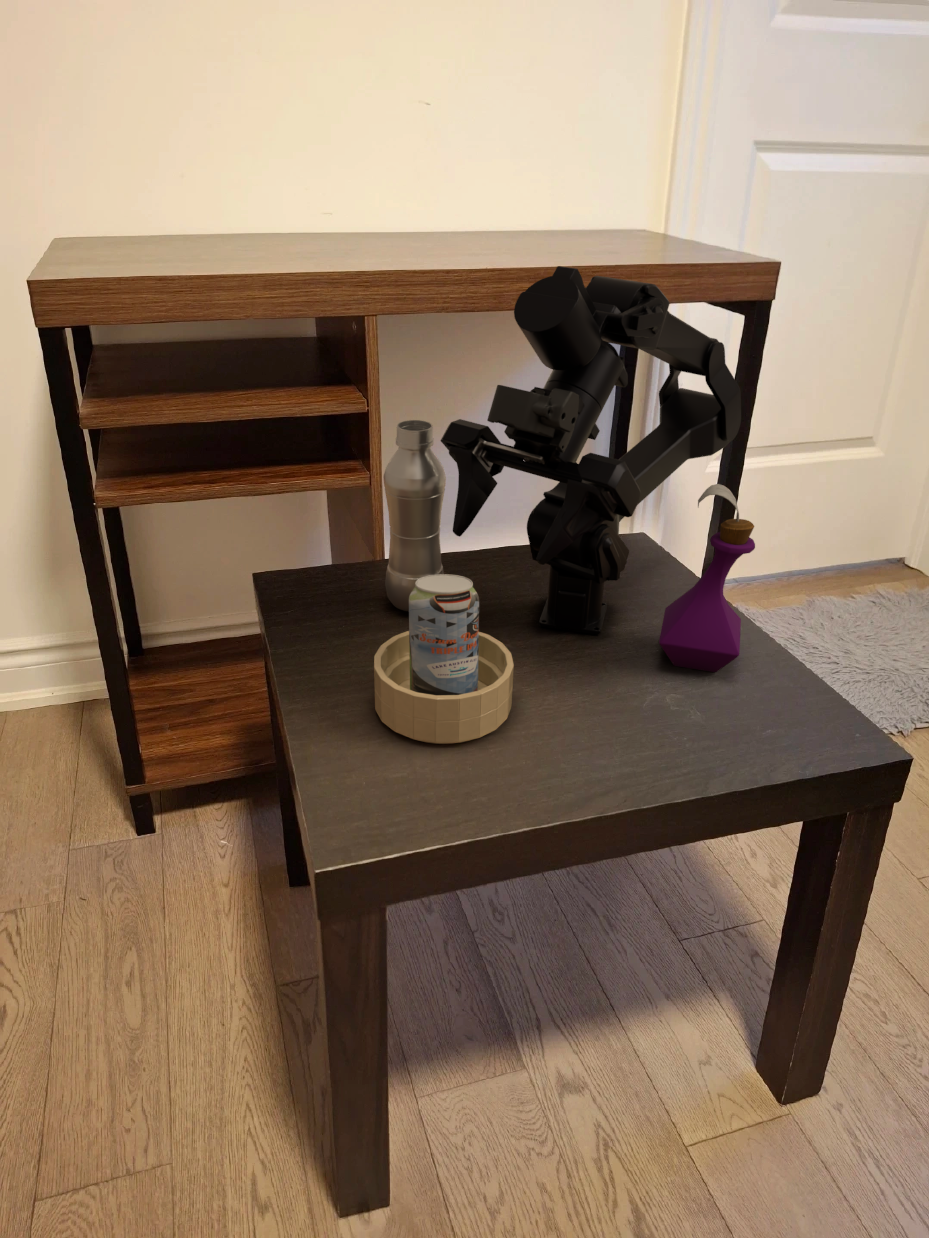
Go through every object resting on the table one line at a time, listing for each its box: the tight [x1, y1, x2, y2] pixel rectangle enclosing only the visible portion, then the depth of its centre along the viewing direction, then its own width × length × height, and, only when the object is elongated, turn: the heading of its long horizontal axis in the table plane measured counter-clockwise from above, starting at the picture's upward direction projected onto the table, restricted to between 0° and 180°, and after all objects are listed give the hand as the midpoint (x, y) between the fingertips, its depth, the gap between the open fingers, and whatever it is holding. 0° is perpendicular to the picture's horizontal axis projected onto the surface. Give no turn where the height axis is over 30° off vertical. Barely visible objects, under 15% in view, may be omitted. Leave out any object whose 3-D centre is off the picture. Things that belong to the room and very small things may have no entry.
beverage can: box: [408, 573, 480, 695], centre depth 82 cm, size 6×7×12 cm
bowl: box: [373, 630, 515, 745], centre depth 84 cm, size 12×12×5 cm
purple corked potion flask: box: [658, 483, 756, 673], centre depth 89 cm, size 8×8×18 cm
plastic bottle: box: [383, 419, 447, 612], centre depth 97 cm, size 6×7×20 cm
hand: (496, 548), depth 84 cm, fingers open, 9 cm apart
